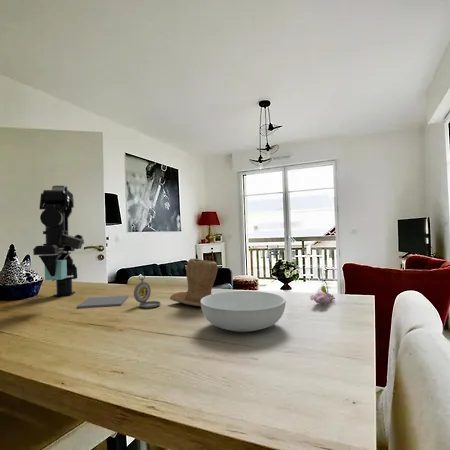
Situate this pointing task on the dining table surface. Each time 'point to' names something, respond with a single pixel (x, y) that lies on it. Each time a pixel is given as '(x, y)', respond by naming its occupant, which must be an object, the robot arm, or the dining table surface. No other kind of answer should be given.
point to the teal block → (58, 271)
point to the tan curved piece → (197, 282)
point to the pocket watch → (143, 290)
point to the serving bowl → (243, 310)
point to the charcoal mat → (103, 301)
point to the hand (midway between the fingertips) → (56, 275)
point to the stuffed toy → (322, 297)
